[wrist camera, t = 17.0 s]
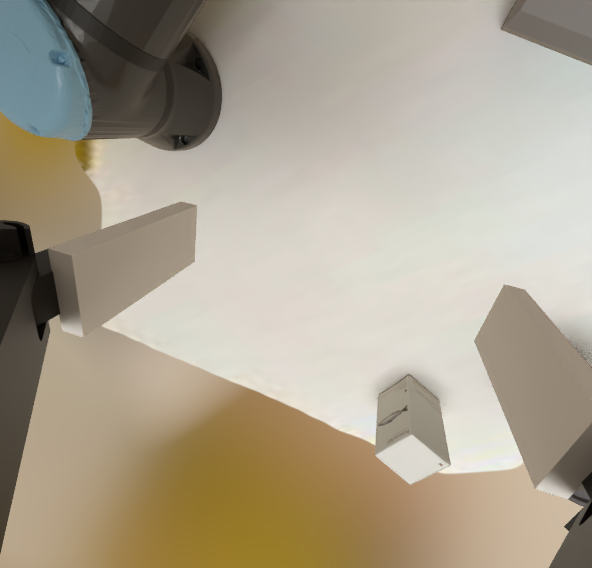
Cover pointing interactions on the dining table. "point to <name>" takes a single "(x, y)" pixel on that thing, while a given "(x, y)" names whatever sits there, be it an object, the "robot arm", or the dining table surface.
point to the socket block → (554, 25)
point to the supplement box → (411, 431)
